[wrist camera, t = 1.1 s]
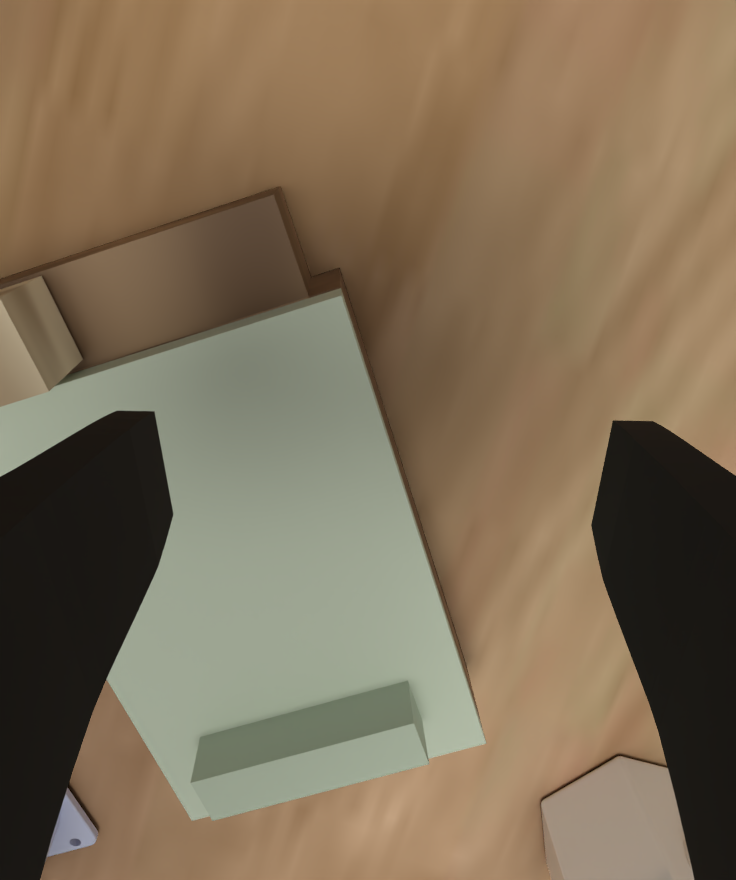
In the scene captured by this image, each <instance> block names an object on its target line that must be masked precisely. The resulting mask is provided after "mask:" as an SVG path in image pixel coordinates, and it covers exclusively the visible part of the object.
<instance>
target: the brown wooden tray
mask: <svg viewBox="0 0 736 880" xmlns="http://www.w3.org/2000/svg"><path fill="white" fill-rule="evenodd" d="M39 276H42V278H43V280H44V282H45V284H46V286H47V288H48V290H49V292H50V294H51V296H52V298H53V300H54V302H55V304H56V306H57V308H58V310H59V312H60V314H61V316H62V318H63V320H64V322H65V324H66V326H67V328H68V330H69V332H70V334H71V336H72V338H73V340H74V342H75V344H76V346H77V348H78V350H79V352H80V354H81V356H82V358H83V360H82V361H81V362H80V363H79V364H78V365H77V366H75V367H74V368H73V369H72V370H71V371H70V372H69V373H68V374H67V375H69V374H72V373H75V372H78V371H81V370H84V369H88V368H91V367H94V366H97V365H100V364H103V363H106V362H110V361H113V360H116V359H119V358H122V357H125V356H128V355H132V354H135V353H138V352H141V351H144V350H147V349H150V348H154V347H157V346H160V345H163V344H166V343H169V342H173V341H176V340H179V339H182V338H185V337H188V336H191V335H195V334H198V333H201V332H204V331H207V330H210V329H213V328H217V327H220V326H223V325H226V324H229V323H232V322H235V321H239V320H242V319H245V318H248V317H251V316H254V315H257V314H261V313H264V312H267V311H270V310H273V309H276V308H279V307H283V306H286V305H289V304H292V303H295V302H298V301H301V300H305V299H308V298H311V297H314V296H317V295H320V294H323V293H327V292H330V291H333V290H336V289H339V288H341V290H342V293H343V296H344V299H345V302H346V305H347V308H348V311H349V314H350V318H351V321H352V324H353V327H354V330H355V333H356V336H357V339H358V342H359V346H360V349H361V352H362V355H363V358H364V361H365V364H366V367H367V370H368V374H369V377H370V380H371V383H372V386H373V389H374V392H375V395H376V398H377V401H378V405H379V408H380V411H381V414H382V417H383V420H384V423H385V426H386V429H387V433H388V436H389V439H390V442H391V445H392V448H393V451H394V454H395V457H396V460H397V464H398V467H399V470H400V473H401V476H402V479H403V482H404V485H405V488H406V492H407V495H408V498H409V501H410V504H411V507H412V510H413V513H414V516H415V520H416V523H417V526H418V529H419V532H420V535H421V538H422V541H423V544H424V547H425V551H426V554H427V557H428V560H429V563H430V566H431V569H432V572H433V575H434V579H435V582H436V585H437V588H438V591H439V594H440V597H441V600H442V603H443V606H444V610H445V613H446V616H447V619H448V622H449V625H450V628H451V631H452V634H453V638H454V641H455V644H456V647H457V650H458V653H459V656H460V659H461V662H462V666H463V669H464V672H465V675H466V678H467V681H468V684H469V687H470V690H471V693H472V697H473V700H474V703H475V706H476V709H477V705H476V701H475V697H474V693H473V690H472V686H471V682H470V678H469V674H468V670H467V666H466V663H465V660H464V657H463V654H462V650H461V647H460V644H459V641H458V638H457V635H456V632H455V628H454V625H453V622H452V619H451V616H450V613H449V610H448V607H447V603H446V600H445V597H444V594H443V591H442V588H441V585H440V581H439V578H438V575H437V572H436V569H435V566H434V563H433V560H432V556H431V553H430V550H429V547H428V544H427V541H426V538H425V534H424V531H423V528H422V525H421V522H420V519H419V516H418V512H417V509H416V506H415V503H414V500H413V497H412V494H411V491H410V487H409V484H408V481H407V478H406V475H405V472H404V469H403V465H402V462H401V459H400V456H399V453H398V450H397V447H396V444H395V440H394V437H393V434H392V431H391V428H390V425H389V422H388V418H387V415H386V412H385V409H384V406H383V403H382V400H381V396H380V393H379V390H378V387H377V384H376V381H375V378H374V375H373V371H372V368H371V365H370V362H369V359H368V356H367V353H366V349H365V346H364V343H363V340H362V337H361V334H360V331H359V328H358V324H357V321H356V318H355V315H354V312H353V309H352V306H351V302H350V299H349V296H348V293H347V290H346V287H345V284H344V280H343V277H342V274H341V271H340V268H338V269H335V270H331V271H328V272H325V273H322V274H319V275H316V276H313V277H311V275H310V272H309V270H308V267H307V264H306V261H305V258H304V255H303V252H302V249H301V246H300V243H299V240H298V237H297V234H296V231H295V228H294V225H293V222H292V219H291V216H290V213H289V210H288V207H287V204H286V201H285V198H284V195H283V192H282V190H281V187H277V188H274V189H271V190H268V191H265V192H262V193H259V194H256V195H252V196H249V197H246V198H243V199H240V200H237V201H234V202H231V203H228V204H225V205H222V206H219V207H216V208H213V209H210V210H207V211H204V212H201V213H198V214H195V215H192V216H189V217H186V218H183V219H180V220H177V221H174V222H171V223H168V224H165V225H162V226H159V227H156V228H153V229H150V230H147V231H144V232H141V233H138V234H135V235H132V236H129V237H126V238H123V239H120V240H117V241H114V242H111V243H108V244H105V245H102V246H99V247H96V248H93V249H90V250H87V251H84V252H81V253H78V254H74V255H71V256H68V257H65V258H62V259H59V260H56V261H53V262H50V263H47V264H44V265H41V266H38V267H35V268H32V269H29V270H26V271H23V272H20V273H17V274H14V275H11V276H8V277H5V278H2V279H0V289H3V288H6V287H9V286H12V285H15V284H18V283H21V282H24V281H27V280H30V279H33V278H36V277H39ZM477 712H478V709H477ZM478 715H479V713H478ZM479 718H480V717H479Z"/></svg>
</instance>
